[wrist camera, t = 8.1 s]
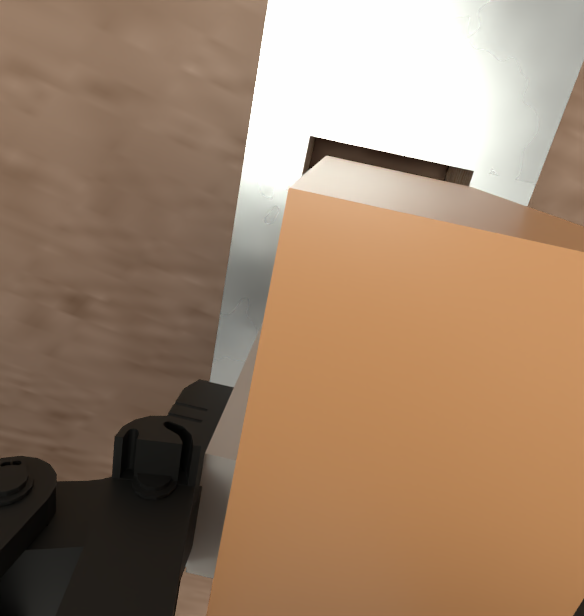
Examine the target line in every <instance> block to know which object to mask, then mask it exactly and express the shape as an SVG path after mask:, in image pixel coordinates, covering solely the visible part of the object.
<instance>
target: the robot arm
mask: <svg viewBox="0 0 584 616" xmlns="http://www.w3.org/2000/svg"><path fill="white" fill-rule="evenodd" d="M262 324H263V323H262ZM261 329H262V325H261V327H260V330H259V332H258V334H257V336H256V339H255V341H254V343H253V345H252V348H251V350H250V352H249V355H248V357H247V359H246V361H245V364H244V366H243V368H242V370H241V373H240V375H239V377H238V379H237V382H236V384H235V386H234V387H230V386H226V385H221V384H217V383H213V382H208V381H204V380H200V379H199V380H198V381H196V382H194V383H193V384H191V385H189V386H188V387H186V388H184V389H183V391H182V392H181V394H180V396H179V397H178V399H177V400H176V402H175V404H174V405H173V407H172V408H171V410H170V411H169V413H168V415H167V416H148V417H144V418H140V419H136V420H134V421H132V422H130V423H128V424H127V425H125V426H123V427H122V428H121V429H120V431H119V432H118V433H117V434H116V436H115V441H114V456H113V470H112V477H109V478H105V479H101V480H92V481H59V482H56V473H55V471H54V470H53V468H52V467H51V465H50V464H48V463H46V462H44V461H42V460H40V459H38V458H33V457H25V456H16V457H7V458H1V459H0V616H175V611H176V605H177V599H178V593H179V586H180V580H181V577H182V574H183V571H184V569H185V566H186V563H187V568H186V572H188V573H192V574H196V575H200V576H204V577H208V578H212V579H213V578H214V573H215V568H216V563H217V557H218V552H219V547H220V542H221V537H222V531H223V526H224V521H225V516H226V511H227V505H228V500H229V495H230V490H231V485H232V480H233V474H234V469H235V464H236V459H237V454H238V448H239V443H240V438H241V433H242V428H243V422H244V417H245V412H246V407H247V402H248V396H249V391H250V386H251V381H252V376H253V371H254V365H255V360H256V355H257V350H258V345H259V339H260V334H261ZM187 560H188V562H187ZM573 616H584V599H583V601H582V602H581V604H580V605H579V607H578V609H577V610H576V612H575V613H574V615H573Z"/></svg>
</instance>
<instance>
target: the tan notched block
mask: <svg viewBox="0 0 584 616" xmlns="http://www.w3.org/2000/svg"><path fill="white" fill-rule="evenodd" d="M583 599H584V227H583V226H581V225H578V224H575V223H572V222H569V221H566V220H564V219H561V218H558V217H555V216H552V215H550V214H547V213H544V212H541V211H538V210H535V209H533V208H530V207H527V206H524V205H521V204H518V203H516V202H513V201H510V200H507V199H504V198H501V197H499V196H496V195H493V194H490V193H487V192H484V191H482V190H479V189H476V188H473V187H469V186H465V185H460V184H455V183H451V182H446V181H442V180H437V179H432V178H428V177H423V176H419V175H414V174H409V173H405V172H400V171H396V170H391V169H386V168H382V167H377V166H372V165H368V164H363V163H359V162H354V161H349V160H345V159H340V158H336V157H331V156H325V157H324V158H323V159H322V160H320V161H319V162H318V163H317V164H316V165H315V166H313V167H312V168H311V169H310V170H309V171H307V172H306V173H305V174H304V175H303V176H302V177H300V178H299V179H298V180H297V181H296V182H295V183H293V184H292V185H291V186H290V187H289V189H288V194H287V199H286V204H285V210H284V215H283V220H282V225H281V230H280V236H279V241H278V246H277V251H276V256H275V261H274V267H273V272H272V277H271V282H270V287H269V293H268V298H267V303H266V308H265V313H264V319H263V324H262V329H261V334H260V339H259V345H258V350H257V355H256V360H255V365H254V371H253V376H252V381H251V386H250V391H249V396H248V402H247V407H246V412H245V417H244V422H243V428H242V433H241V438H240V443H239V448H238V454H237V459H236V464H235V469H234V474H233V480H232V485H231V490H230V495H229V500H228V505H227V511H226V516H225V521H224V526H223V531H222V537H221V542H220V547H219V552H218V557H217V563H216V568H215V573H214V578H213V583H212V589H211V594H210V599H209V604H208V609H207V614H206V616H573V615H574V613H575V612H576V610H577V609H578V607H579V605H580V604H581V602H582V601H583Z"/></svg>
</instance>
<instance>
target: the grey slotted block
mask: <svg viewBox="0 0 584 616" xmlns="http://www.w3.org/2000/svg"><path fill="white" fill-rule="evenodd" d="M583 61H584V0H268V7H267V13H266V20H265V26H264V33H263V39H262V46H261V52H260V59H259V65H258V72H257V78H256V85H255V91H254V98H253V104H252V111H251V117H250V124H249V130H248V137H247V143H246V150H245V156H244V163H243V169H242V176H241V182H240V189H239V195H238V202H237V208H236V215H235V221H234V228H233V234H232V241H231V247H230V254H229V260H228V267H227V273H226V280H225V286H224V293H223V299H222V306H221V312H220V319H219V325H218V332H217V338H216V344H215V351H214V357H213V364H212V370H211V377H210V382H213V383H217V384H221V385H226V386H230V387H234V386H235V384H236V382H237V379H238V377H239V375H240V373H241V370H242V368H243V366H244V364H245V361H246V359H247V357H248V355H249V352H250V350H251V348H252V345H253V343H254V341H255V339H256V336H257V334H258V332H259V330H260V327H261V325H262V323H263V319H264V313H265V308H266V303H267V298H268V293H269V287H270V282H271V277H272V272H273V267H274V261H275V256H276V251H277V246H278V241H279V236H280V230H281V225H282V220H283V215H284V210H285V204H286V199H287V194H288V189H289V187H290V186H291V185H292V184H293V183H295V182H296V181H297V180H298V179H299V178H300V177H302V176H303V175H304V174H305V173H306V172H307V171H308V170H309V166H310V161H311V156H312V151H313V146H314V141H315V137H319V138H324V139H328V140H333V141H338V142H342V143H347V144H351V145H356V146H361V147H365V148H370V149H375V150H379V151H384V152H389V153H393V154H398V155H402V156H407V157H412V158H416V159H421V160H426V161H430V162H435V163H440V164H444V165H449V169H448V172H447V175H446V178H445V181H446V182H451V183H455V184H460V185H465V186H469V187H473V188H476V189H479V190H482V191H484V192H487V193H490V194H493V195H496V196H499V197H501V198H504V199H507V200H510V201H513V202H516V203H518V204H521V205H524V206H528V203H529V200H530V198H531V195H532V193H533V190H534V188H535V185H536V182H537V180H538V177H539V175H540V172H541V169H542V167H543V164H544V162H545V159H546V156H547V154H548V151H549V149H550V146H551V144H552V141H553V138H554V136H555V133H556V131H557V128H558V125H559V123H560V120H561V118H562V115H563V112H564V110H565V107H566V105H567V102H568V100H569V97H570V94H571V92H572V89H573V87H574V84H575V81H576V79H577V76H578V74H579V71H580V68H581V66H582V63H583ZM187 562H188V560H187ZM185 567H187V563H186V566H185Z"/></svg>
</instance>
